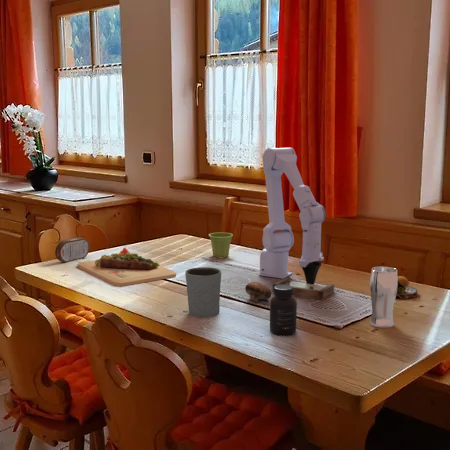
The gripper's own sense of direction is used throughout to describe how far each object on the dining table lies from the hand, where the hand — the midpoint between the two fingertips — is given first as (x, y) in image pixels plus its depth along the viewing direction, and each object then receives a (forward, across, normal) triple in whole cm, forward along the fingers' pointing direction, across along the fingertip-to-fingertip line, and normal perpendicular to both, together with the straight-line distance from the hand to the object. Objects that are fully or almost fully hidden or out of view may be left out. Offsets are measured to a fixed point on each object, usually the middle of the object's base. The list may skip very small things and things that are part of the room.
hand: (310, 284), depth 196 cm
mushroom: (+1, -21, +8) cm, 23 cm away
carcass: (+1, -5, 0) cm, 5 cm away
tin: (+1, -11, +93) cm, 94 cm away
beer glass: (+1, -23, -30) cm, 38 cm away
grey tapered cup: (+1, -39, +16) cm, 42 cm away
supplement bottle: (+1, -42, -10) cm, 43 cm away
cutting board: (+2, -14, +65) cm, 67 cm away
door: (+2, -4, 0) cm, 5 cm away
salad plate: (+2, +8, -26) cm, 27 cm away
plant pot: (+1, +24, +48) cm, 54 cm away
